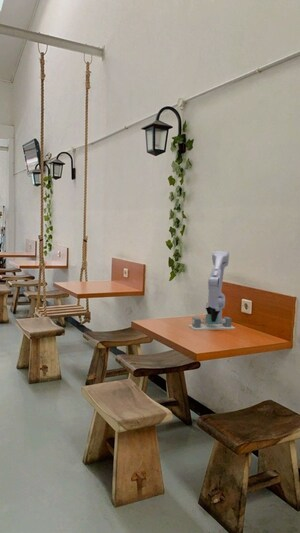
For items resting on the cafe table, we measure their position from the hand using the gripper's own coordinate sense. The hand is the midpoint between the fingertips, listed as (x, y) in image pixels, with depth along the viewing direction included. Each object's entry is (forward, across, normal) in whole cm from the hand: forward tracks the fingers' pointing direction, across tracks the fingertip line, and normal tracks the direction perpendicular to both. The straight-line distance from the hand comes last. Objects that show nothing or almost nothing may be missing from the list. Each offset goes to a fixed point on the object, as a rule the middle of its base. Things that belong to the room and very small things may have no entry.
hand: (212, 320), depth 240 cm
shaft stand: (+4, 0, 0) cm, 4 cm away
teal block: (+2, 0, 0) cm, 2 cm away
